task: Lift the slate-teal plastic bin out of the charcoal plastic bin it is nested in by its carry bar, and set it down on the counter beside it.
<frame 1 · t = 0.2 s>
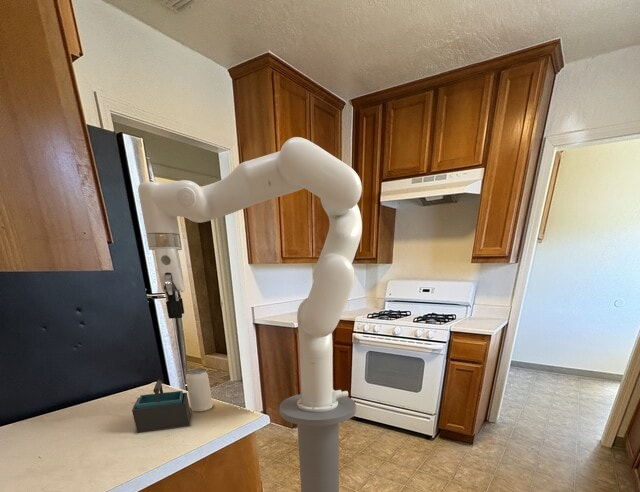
hand: (177, 315, 92), 29 cm above the counter, tool pointing down, fingers open, 9 cm apart
lower bin: (165, 422, 101), on the counter
top bin: (165, 420, 101), point 1 cm above the counter, touching lower bin
can: (202, 408, 111), on the counter
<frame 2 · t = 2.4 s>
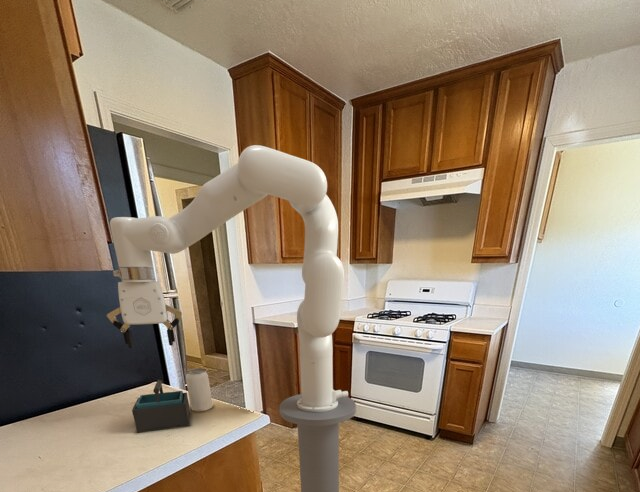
hand: (151, 345, 92), 22 cm above the counter, tool pointing down, fingers open, 9 cm apart
nothing on the counter moved.
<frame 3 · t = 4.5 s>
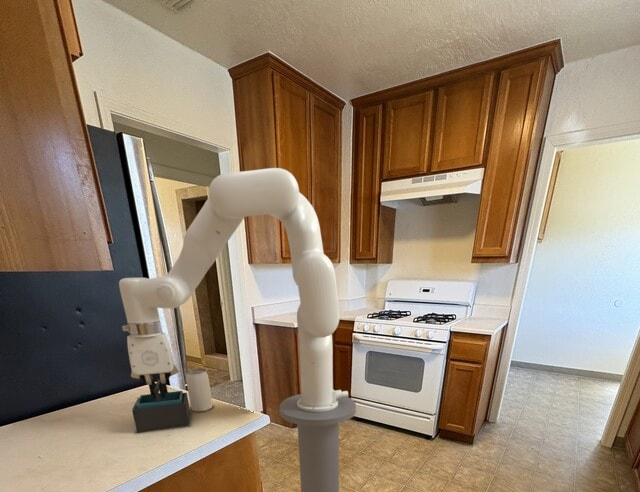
hand: (160, 396, 98), 8 cm above the counter, tool pointing down, fingers closed on top bin
top bin: (165, 420, 101), point 1 cm above the counter, touching gripper, lower bin
everything else where it was.
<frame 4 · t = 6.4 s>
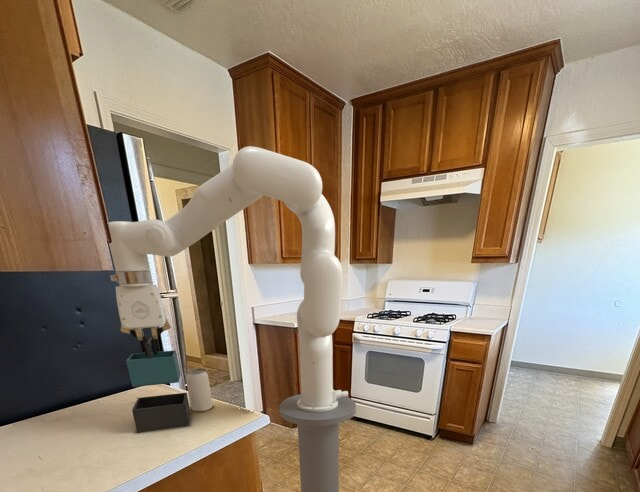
hand: (152, 353, 93), 20 cm above the counter, tool pointing down, fingers closed on top bin
top bin: (157, 380, 96), point 12 cm above the counter, touching gripper
everything else where it was.
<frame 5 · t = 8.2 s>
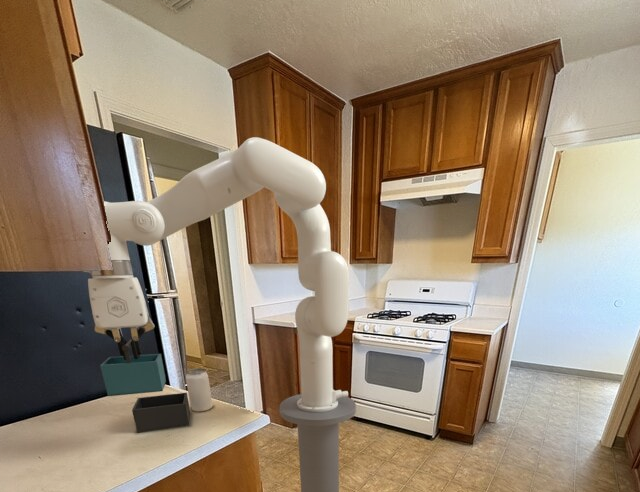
hand: (132, 357, 80), 22 cm above the counter, tool pointing down, fingers closed on top bin
top bin: (138, 388, 83), point 15 cm above the counter, touching gripper
everything else where it was.
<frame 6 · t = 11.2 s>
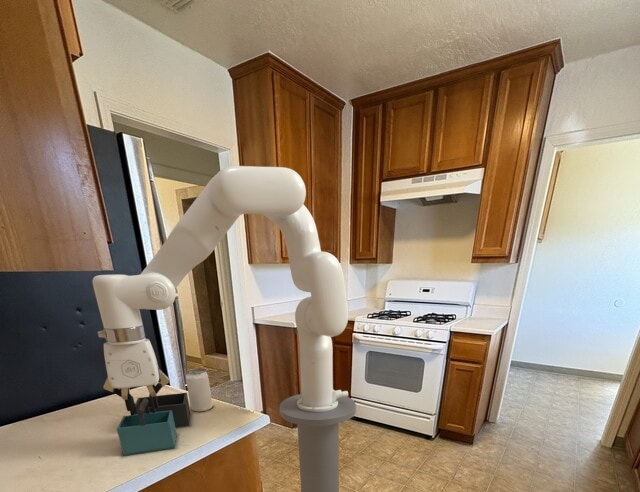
hand: (144, 411, 84), 9 cm above the counter, tool pointing down, fingers open, 3 cm apart
top bin: (151, 444, 88), on the counter
everything else where it was.
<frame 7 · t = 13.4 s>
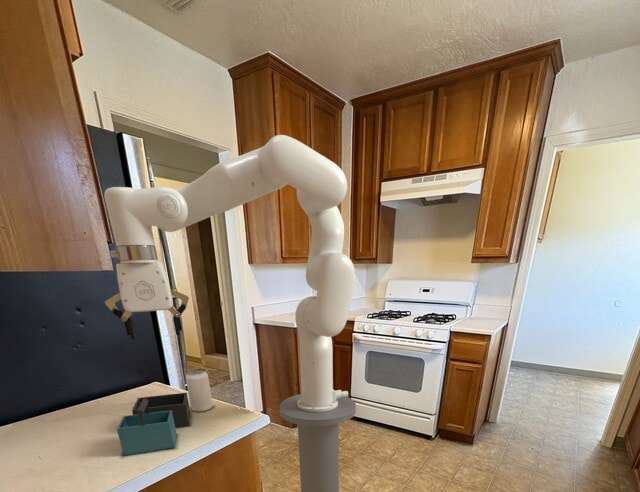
hand: (156, 336, 83), 26 cm above the counter, tool pointing down, fingers open, 9 cm apart
nothing on the counter moved.
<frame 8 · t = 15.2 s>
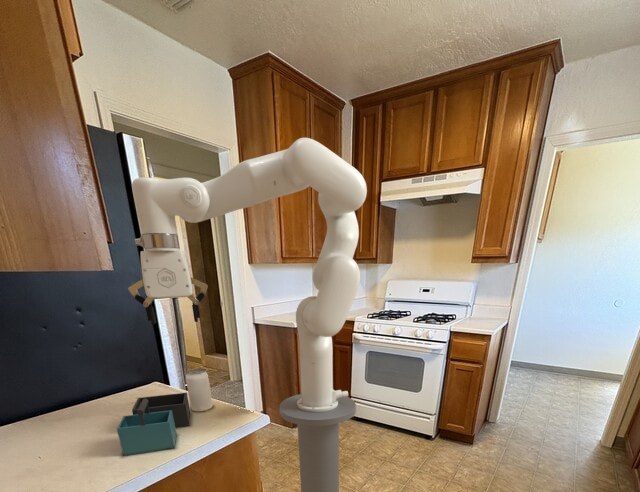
hand: (175, 322, 86), 28 cm above the counter, tool pointing down, fingers open, 9 cm apart
nothing on the counter moved.
at the end: top bin inside the target area (0.0 cm from its centre), on the counter; top bin tilted 0°; top bin touching counter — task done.
